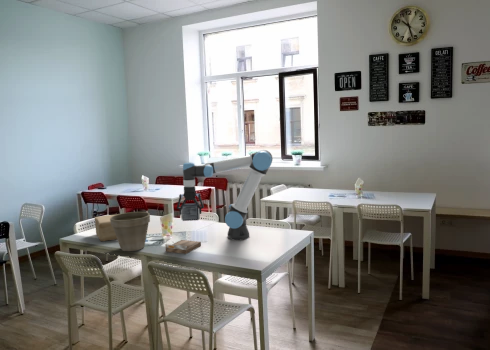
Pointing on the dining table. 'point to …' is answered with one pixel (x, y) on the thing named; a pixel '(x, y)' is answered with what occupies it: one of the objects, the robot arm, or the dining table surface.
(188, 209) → the small box
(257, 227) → the dining table surface
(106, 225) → the paper package
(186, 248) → the brown wooden slab
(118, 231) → the plant pot
